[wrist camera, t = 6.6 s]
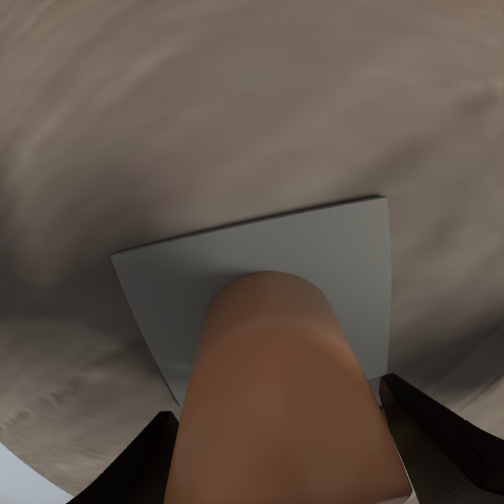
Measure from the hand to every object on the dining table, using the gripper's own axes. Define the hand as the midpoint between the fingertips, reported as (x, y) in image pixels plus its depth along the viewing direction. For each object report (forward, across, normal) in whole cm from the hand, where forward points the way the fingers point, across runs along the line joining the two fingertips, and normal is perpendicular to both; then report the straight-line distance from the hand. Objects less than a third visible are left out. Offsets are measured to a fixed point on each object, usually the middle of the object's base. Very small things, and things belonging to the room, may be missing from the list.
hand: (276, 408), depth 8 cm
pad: (+5, 0, 0) cm, 5 cm away
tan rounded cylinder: (+5, 0, 0) cm, 5 cm away
